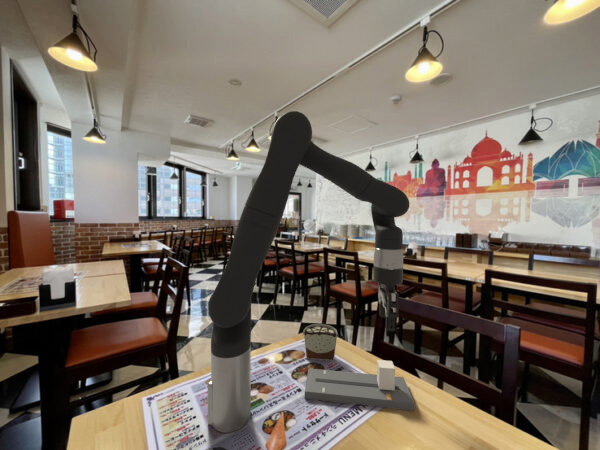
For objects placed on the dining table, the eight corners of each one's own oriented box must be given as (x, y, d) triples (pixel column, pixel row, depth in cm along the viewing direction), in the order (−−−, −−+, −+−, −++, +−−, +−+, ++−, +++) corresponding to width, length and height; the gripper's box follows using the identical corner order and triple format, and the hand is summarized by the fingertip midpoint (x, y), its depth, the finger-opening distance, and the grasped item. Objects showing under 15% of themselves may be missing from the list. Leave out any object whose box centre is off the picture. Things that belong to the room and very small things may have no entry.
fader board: (304, 398, 65) (304, 390, 65) (308, 374, 75) (308, 368, 75) (414, 410, 62) (414, 402, 61) (403, 383, 71) (403, 376, 71)
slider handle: (379, 389, 66) (379, 367, 66) (376, 380, 69) (377, 359, 69) (394, 390, 65) (395, 368, 65) (391, 381, 69) (391, 361, 68)
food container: (337, 351, 89) (337, 324, 88) (338, 360, 83) (338, 332, 82) (303, 349, 90) (303, 322, 90) (302, 358, 84) (302, 330, 83)
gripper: (370, 259, 74) (369, 312, 74) (378, 269, 60) (377, 334, 60) (395, 260, 73) (394, 314, 73) (410, 271, 59) (409, 337, 59)
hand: (386, 323), depth 67 cm, fingers open, 8 cm apart
